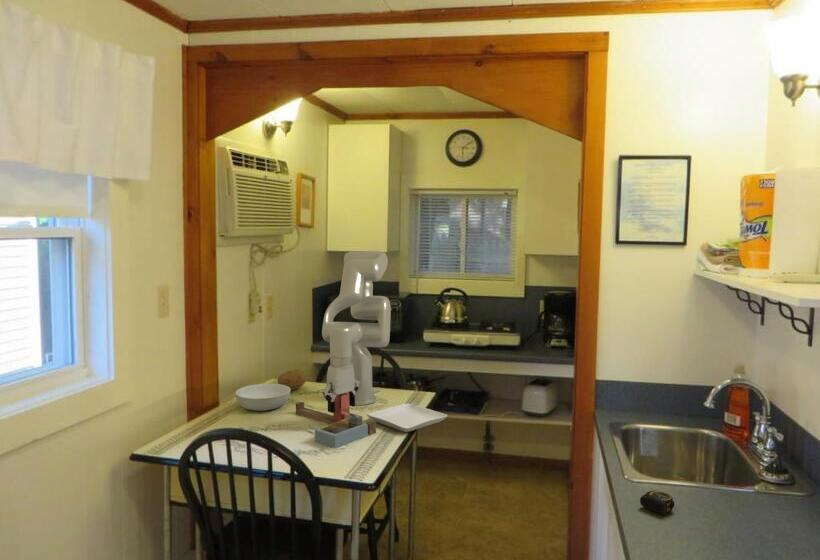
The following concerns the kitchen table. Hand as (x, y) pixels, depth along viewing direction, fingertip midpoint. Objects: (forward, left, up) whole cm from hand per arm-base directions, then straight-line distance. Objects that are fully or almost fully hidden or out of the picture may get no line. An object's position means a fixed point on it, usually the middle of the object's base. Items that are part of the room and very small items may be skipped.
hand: (341, 408), depth 224 cm
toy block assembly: (+7, +3, -5) cm, 9 cm away
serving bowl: (+4, -39, -6) cm, 40 cm away
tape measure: (-3, +109, -6) cm, 109 cm away
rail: (0, -4, -6) cm, 7 cm away
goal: (+10, +10, -6) cm, 15 cm away
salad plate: (-17, +16, -6) cm, 24 cm away
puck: (+10, +10, -6) cm, 15 cm away
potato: (-20, -51, -6) cm, 55 cm away
